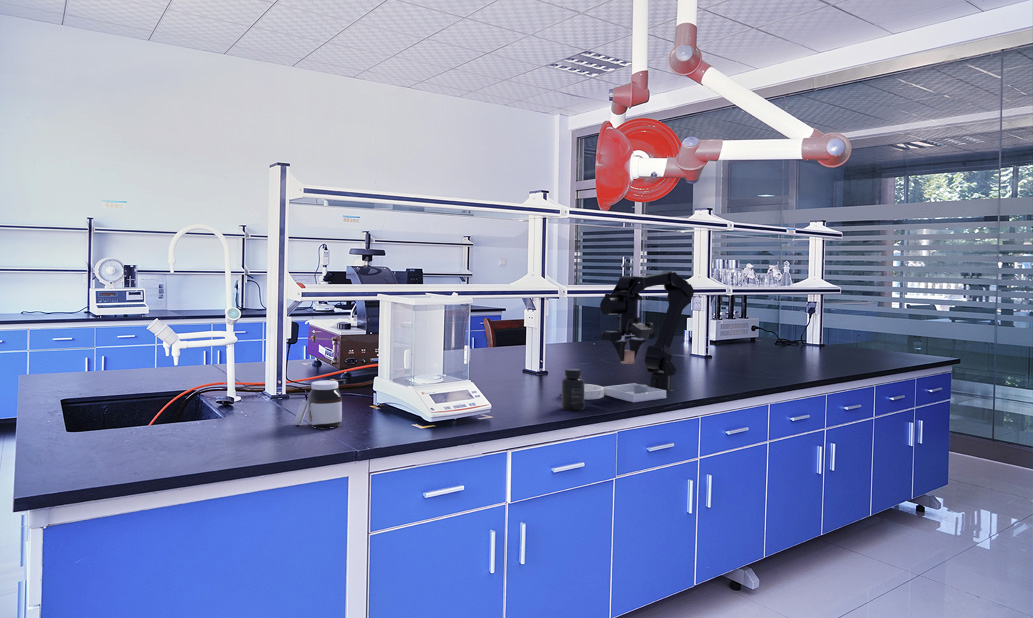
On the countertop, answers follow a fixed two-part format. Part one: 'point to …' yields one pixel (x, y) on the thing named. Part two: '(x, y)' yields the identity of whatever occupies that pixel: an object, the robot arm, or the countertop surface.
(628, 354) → the beige rounded cube
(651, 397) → the parts tray
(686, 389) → the countertop surface
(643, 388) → the grey cube
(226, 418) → the countertop surface
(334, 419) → the spread jar
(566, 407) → the supplement bottle
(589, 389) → the bowl
